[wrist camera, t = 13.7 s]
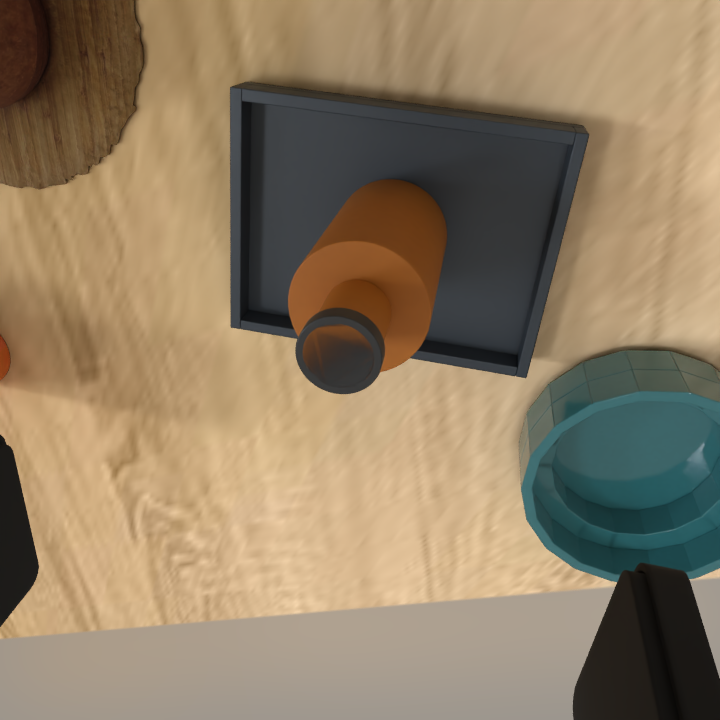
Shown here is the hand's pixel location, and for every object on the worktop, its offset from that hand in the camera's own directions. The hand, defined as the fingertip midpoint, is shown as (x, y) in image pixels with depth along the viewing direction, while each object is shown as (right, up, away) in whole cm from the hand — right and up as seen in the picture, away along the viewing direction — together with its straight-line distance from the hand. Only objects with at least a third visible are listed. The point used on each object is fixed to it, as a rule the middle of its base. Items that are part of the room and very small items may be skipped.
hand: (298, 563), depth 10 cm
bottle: (+3, +10, +26) cm, 28 cm away
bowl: (+17, -2, +30) cm, 35 cm away
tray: (+3, +10, +26) cm, 29 cm away
